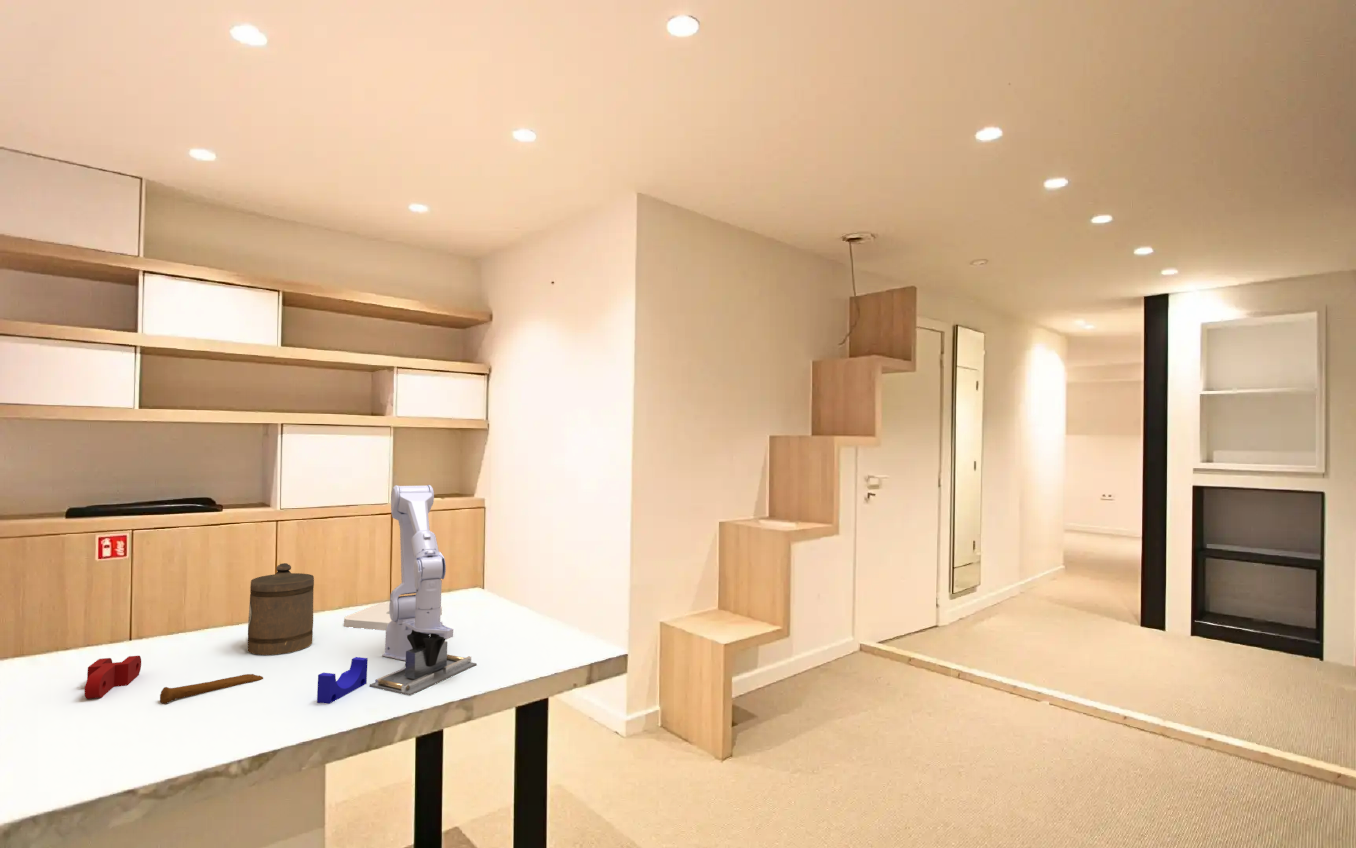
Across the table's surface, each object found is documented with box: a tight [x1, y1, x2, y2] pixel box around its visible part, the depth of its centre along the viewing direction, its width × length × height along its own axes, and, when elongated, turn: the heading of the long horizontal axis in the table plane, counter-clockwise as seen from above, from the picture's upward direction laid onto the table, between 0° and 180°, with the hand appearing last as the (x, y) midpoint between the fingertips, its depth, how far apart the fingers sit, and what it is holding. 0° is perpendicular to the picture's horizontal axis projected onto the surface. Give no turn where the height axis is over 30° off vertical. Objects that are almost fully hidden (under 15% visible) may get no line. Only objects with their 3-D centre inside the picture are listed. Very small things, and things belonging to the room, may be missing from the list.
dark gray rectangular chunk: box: [404, 640, 448, 679], centre depth 157 cm, size 3×10×6 cm, turn 155°
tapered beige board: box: [343, 601, 443, 632], centre depth 203 cm, size 22×22×3 cm
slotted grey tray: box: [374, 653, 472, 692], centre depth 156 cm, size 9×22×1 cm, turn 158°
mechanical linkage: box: [84, 655, 142, 700], centre depth 144 cm, size 16×7×5 cm, turn 23°
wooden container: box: [247, 563, 315, 656], centre depth 174 cm, size 15×15×22 cm
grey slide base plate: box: [369, 660, 477, 696], centre depth 156 cm, size 12×22×1 cm, turn 158°
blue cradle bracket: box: [316, 656, 369, 705], centre depth 145 cm, size 12×4×6 cm, turn 169°
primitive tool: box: [159, 673, 264, 705], centre depth 144 cm, size 19×6×4 cm, turn 151°
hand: (426, 664), depth 156 cm, fingers closed on dark gray rectangular chunk, 3 cm apart
